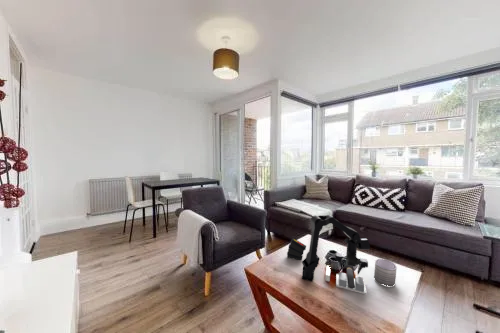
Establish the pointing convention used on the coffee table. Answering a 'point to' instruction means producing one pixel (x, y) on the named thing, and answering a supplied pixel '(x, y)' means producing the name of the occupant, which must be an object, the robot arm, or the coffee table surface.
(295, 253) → the magazine
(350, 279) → the lead
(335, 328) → the coffee table surface
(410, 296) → the coffee table surface
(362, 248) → the robot arm
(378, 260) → the can
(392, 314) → the coffee table surface
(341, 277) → the white twin post stand
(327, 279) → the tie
